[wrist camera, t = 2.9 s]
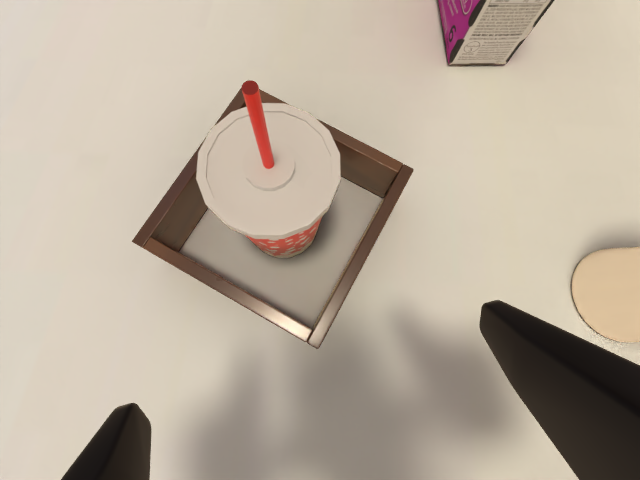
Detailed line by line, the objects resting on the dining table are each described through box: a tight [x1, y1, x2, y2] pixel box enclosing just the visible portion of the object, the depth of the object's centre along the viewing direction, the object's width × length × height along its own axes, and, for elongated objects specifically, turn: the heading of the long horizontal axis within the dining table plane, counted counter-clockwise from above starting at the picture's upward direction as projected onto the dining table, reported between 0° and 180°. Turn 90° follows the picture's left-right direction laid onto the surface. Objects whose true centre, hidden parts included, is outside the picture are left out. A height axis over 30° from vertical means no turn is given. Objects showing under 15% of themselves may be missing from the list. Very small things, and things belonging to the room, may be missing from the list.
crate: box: [132, 88, 413, 349], centre depth 21 cm, size 11×11×4 cm
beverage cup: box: [196, 81, 341, 258], centre depth 17 cm, size 6×6×14 cm
